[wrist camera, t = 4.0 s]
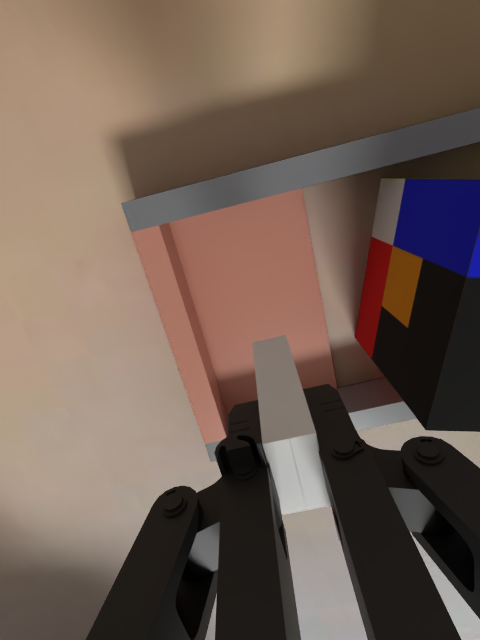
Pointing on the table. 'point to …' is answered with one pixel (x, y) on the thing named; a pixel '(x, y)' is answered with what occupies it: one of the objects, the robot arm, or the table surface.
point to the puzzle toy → (426, 298)
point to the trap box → (262, 272)
